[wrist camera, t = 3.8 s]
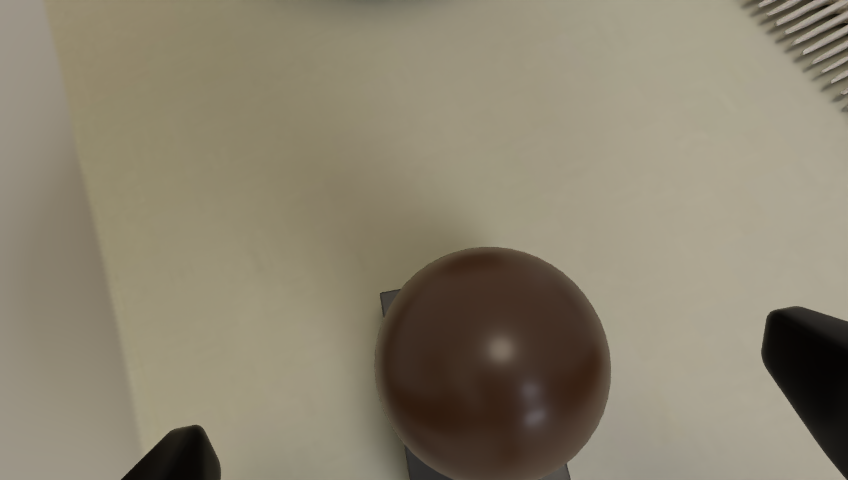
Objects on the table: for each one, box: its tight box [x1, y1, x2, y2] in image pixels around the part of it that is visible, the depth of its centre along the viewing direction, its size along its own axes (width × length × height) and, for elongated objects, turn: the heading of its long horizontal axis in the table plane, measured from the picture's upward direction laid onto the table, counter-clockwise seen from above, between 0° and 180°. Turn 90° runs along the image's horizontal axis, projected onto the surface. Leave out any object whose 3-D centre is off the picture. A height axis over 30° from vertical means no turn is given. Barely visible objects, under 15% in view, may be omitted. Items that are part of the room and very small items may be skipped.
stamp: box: [375, 247, 611, 480], centre depth 11 cm, size 6×4×10 cm, turn 11°
